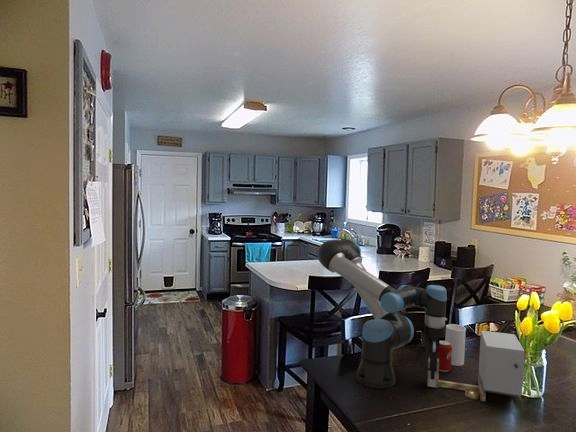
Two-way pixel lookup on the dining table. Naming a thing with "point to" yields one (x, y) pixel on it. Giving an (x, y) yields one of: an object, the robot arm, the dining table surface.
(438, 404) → the dining table surface
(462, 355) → the cup
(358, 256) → the robot arm
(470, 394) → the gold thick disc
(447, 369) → the beverage can
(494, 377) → the cabinet
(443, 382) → the block
